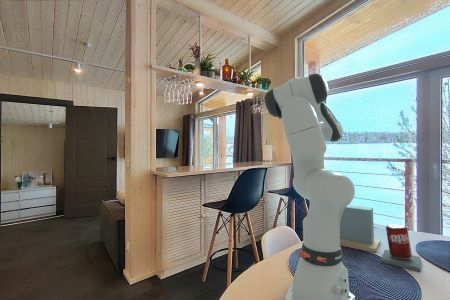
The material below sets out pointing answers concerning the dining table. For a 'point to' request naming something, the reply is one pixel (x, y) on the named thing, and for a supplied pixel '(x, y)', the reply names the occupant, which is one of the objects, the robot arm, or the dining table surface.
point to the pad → (402, 261)
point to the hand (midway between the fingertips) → (310, 177)
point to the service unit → (358, 228)
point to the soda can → (398, 241)
